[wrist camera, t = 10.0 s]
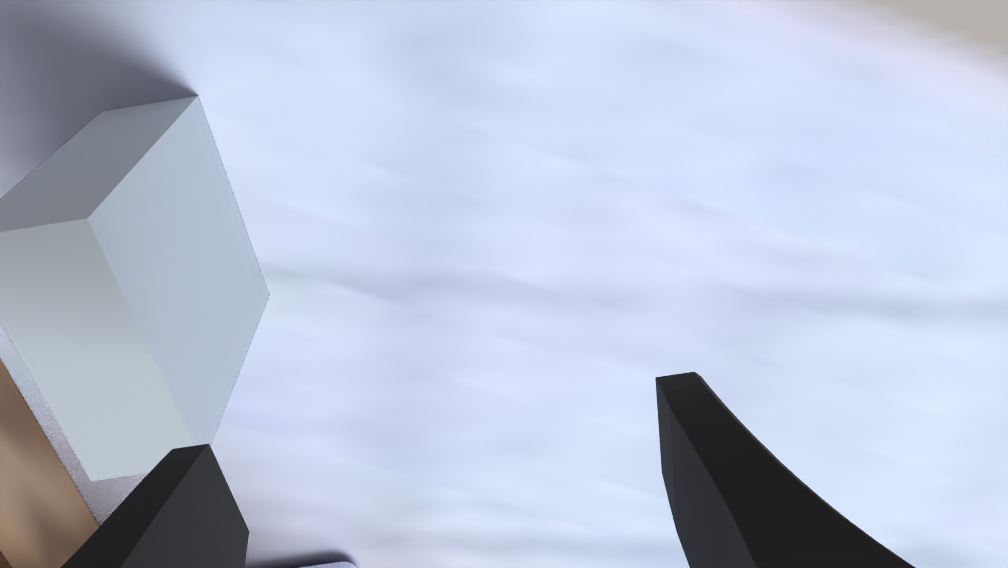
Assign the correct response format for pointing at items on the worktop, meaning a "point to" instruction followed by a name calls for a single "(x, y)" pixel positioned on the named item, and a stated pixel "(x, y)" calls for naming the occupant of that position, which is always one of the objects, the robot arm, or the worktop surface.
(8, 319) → the pale grey rectangular prism
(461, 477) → the worktop surface
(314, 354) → the worktop surface
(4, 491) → the frame
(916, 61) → the worktop surface
